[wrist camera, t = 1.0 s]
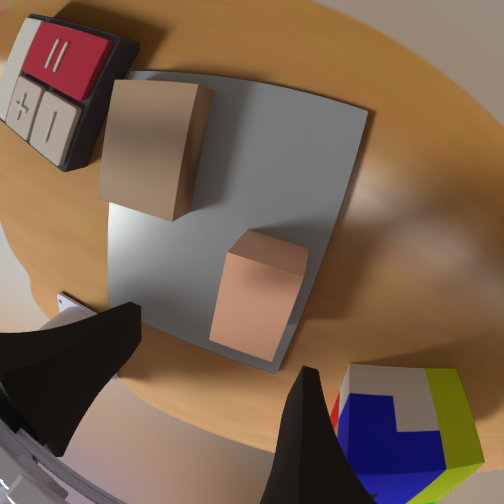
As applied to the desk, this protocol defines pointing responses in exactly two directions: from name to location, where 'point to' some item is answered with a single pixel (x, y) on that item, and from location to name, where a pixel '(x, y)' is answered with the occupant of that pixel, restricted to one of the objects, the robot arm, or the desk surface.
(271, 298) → the terracotta brick
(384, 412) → the puzzle toy
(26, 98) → the calculator
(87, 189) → the desk surface
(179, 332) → the baseplate
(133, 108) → the walnut base brick
